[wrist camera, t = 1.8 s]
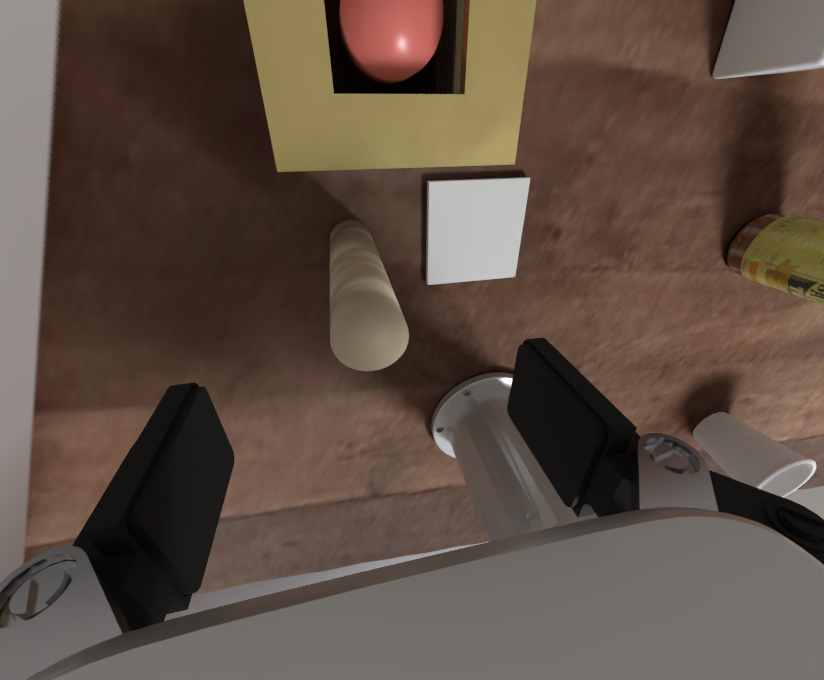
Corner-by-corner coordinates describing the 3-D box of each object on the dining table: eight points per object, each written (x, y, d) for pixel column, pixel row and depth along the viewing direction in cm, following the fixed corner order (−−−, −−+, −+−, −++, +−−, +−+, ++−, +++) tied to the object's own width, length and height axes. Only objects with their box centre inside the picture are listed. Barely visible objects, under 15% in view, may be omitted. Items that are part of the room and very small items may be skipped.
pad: (526, 177, 27) (530, 178, 26) (512, 274, 31) (515, 276, 30) (427, 181, 25) (429, 181, 25) (425, 282, 30) (427, 284, 29)
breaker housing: (493, -119, 18) (566, -228, 13) (473, 156, 25) (514, 164, 20) (235, -148, 16) (185, -296, 11) (289, 161, 23) (277, 171, 17)
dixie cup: (674, 438, 51) (742, 498, 42) (721, 397, 48) (804, 454, 39) (700, 451, 54) (767, 509, 46) (745, 414, 51) (826, 469, 43)
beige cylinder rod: (370, 217, 26) (408, 299, 13) (373, 259, 28) (409, 366, 15) (327, 220, 25) (324, 307, 13) (332, 262, 27) (335, 375, 14)
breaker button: (432, -37, 18) (445, -58, 16) (430, 84, 20) (441, 79, 18) (333, -43, 17) (333, -67, 15) (344, 83, 19) (346, 78, 17)
